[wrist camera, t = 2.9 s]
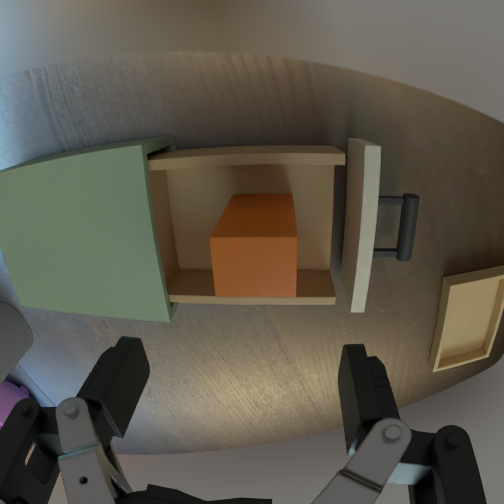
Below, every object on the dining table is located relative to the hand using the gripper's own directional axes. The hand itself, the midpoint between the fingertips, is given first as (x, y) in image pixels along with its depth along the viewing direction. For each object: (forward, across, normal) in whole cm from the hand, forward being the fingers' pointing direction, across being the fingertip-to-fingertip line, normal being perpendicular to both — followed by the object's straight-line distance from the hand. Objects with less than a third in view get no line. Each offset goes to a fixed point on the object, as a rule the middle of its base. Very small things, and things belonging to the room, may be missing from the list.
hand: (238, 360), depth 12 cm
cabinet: (+19, +17, 0) cm, 26 cm away
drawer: (+18, -2, 0) cm, 18 cm away
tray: (+19, -25, +13) cm, 34 cm away
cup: (+20, +42, +18) cm, 49 cm away
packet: (+17, 0, 0) cm, 17 cm away
